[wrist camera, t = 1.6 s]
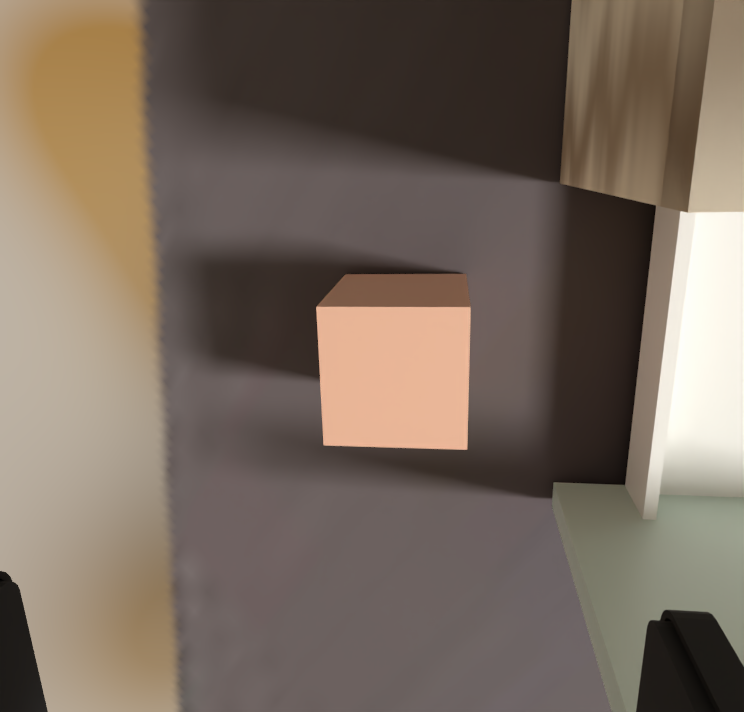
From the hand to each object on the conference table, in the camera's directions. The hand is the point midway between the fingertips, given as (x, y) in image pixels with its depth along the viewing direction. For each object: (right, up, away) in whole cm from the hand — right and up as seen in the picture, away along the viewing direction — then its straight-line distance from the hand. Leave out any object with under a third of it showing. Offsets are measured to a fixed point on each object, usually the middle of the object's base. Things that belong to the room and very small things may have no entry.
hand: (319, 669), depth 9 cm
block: (+2, +6, +17) cm, 18 cm away
